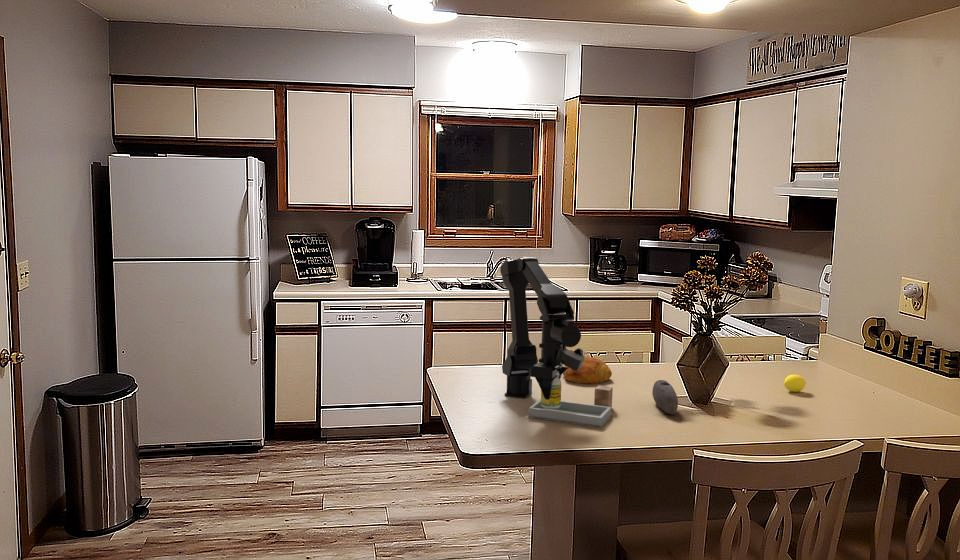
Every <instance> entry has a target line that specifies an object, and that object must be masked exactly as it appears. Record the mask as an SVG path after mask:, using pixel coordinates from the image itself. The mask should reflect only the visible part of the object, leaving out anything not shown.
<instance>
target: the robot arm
mask: <svg viewBox="0 0 960 560" xmlns="http://www.w3.org/2000/svg"><path fill="white" fill-rule="evenodd" d="M499 271H500V272H499V273H500V275H501V280H502V283H503V284H504V286H505V288H507V290H508V297H509V310H510V311H509V312H510V325H511V326H510V327H511V343H510V345H509V346H508V348H507V357H506V358H505V360H504V362H503V364H502V365H501V368H502V369H501V370H502V374H504V375H506V392H505V393H504V396H506V397H515V398H522V399H526V398H527V397H528V396H530V395H532V394H533V379H532V378H535V380H536V382H537V384H538V385H539V388H540V392H541V391H542V393H543V395H544V398H545V399H547V400H549V398H550V394H551V388H552V383H553V380H554V379H556V378H557V377H558V375H556V370H557V371H559V377H558V378H559V379H560V380H561V378H562V376H563V373H564V372H565V371H566V370H567V369H568V367H569V368H571V369H572V370H574V371H578V369H580V368H581V366H582V363H583V361H584V360H585V359H584V357H586V356H585V355H584V349H582V348H579V347H577V348H576V349H575V350H573V349H568V348H574V347H576V346H578V344H580V342H581V339H582V333H581V330H580V328H579V327H578V326H576V325H575V316H574V315H575V312H574V309H573V307H572V305H571V302H570V298H569V297H568V295H567V294H566V292H565V291H564V290H562V288H559V287H558V286H555V285H554V284H553V283H552V282H551V280H550V278H549V277H548V276H547V275H546V273H545V271H544V270H543V268H542V267H541V266H540V264H539V260H538V258H537V257H535V256H522V257H520V258H517V259H505V260H504V261H503V262H502V263H501V265H500V269H499ZM529 284H530V285H529ZM528 286H531V288H532V289H533V291H534V293H535V294H536V296H537V300H536V305H537V308H538V310H539V312H540V314H541V315H540V316H539V320H540V321H541V342H539V343H538V348H541V351H540V352H541V353H540V354H541V355H540V358H538V355H537V346H536V345H535V344H533V343H532V341H531V340H530V335H529V334H530V333H529V332H530V331H529V321H528V320H529V319H528V307H527V290H526V289H527V287H528ZM564 365H565V366H567V367H564ZM531 377H532V378H531Z"/></svg>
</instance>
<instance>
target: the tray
mask: <svg viewBox="0 0 960 560" xmlns="http://www.w3.org/2000/svg"><path fill="white" fill-rule="evenodd" d="M611 417H612V408H611V407H606V406H598V405H594V404H589V403H581V402H574V401H566V400H561V406H560V407H559V408H556V409H548V408H544V407H542V406H541V398H539V400H537V401H536V402H535V403H533V404H532V405H531V406H530V407H528V418H529V419H537V420H542V421H543V420H544V421H550V422H556V423H557V422H558V423H564V424H571V425H578V426H583V427H584V426H586V427H592V428H600V429H601V428H602V427H603V426H605V424H606V423H607V422H608V421H609V420H610V419H611Z"/></svg>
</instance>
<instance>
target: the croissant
mask: <svg viewBox="0 0 960 560" xmlns="http://www.w3.org/2000/svg"><path fill="white" fill-rule="evenodd" d="M584 359H585V360H584V361H583V363H582V366H581V368H580V369H578V371H574V370H572V369H571V368H569V367H568V369H567V370H566V371H565V372H564V373H563V374H562V376H563V377H564V380H565V381H569V382H571V383H578V384H585V385H586V384H590V385H596V384H597V385H598V384H600V383H604V382H606V381H608V380H610V378H611V377H612V375H613V372H612V369H611V368H610V367H609V366H608V365H607V363H606V362H605V361H603V360H601V359H599V358H596V357H593V356H592V357H591V356H585V357H584ZM564 367H567V366H565V365H564Z"/></svg>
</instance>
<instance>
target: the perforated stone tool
mask: <svg viewBox="0 0 960 560" xmlns="http://www.w3.org/2000/svg"><path fill="white" fill-rule="evenodd" d="M652 398H653V401H654V402H655V404H656V406H657V407H658V408H660V410H662V411H663V412H664V413H666V414H668V415H674V414H676V412H677V411H678V406H679V399H678V395H677V392H676V391H675V389H674V387H673V386H672V384H671V383H669V382H668V381H667V380H665V379H664V380H663V379H658V380H656V381H655V382H654V384H653V385H652Z"/></svg>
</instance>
